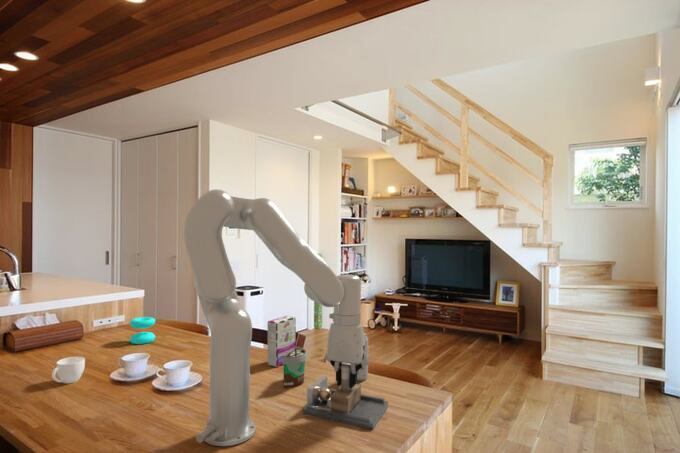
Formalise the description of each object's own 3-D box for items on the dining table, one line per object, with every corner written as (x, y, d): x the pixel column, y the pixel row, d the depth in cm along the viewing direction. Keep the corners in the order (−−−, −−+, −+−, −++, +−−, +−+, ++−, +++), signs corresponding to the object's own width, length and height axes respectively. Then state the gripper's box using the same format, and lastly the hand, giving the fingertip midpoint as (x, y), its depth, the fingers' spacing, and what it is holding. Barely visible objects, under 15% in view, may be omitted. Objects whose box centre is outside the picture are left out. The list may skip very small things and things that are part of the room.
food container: (301, 391, 125) (301, 359, 125) (282, 389, 126) (282, 357, 126) (311, 376, 137) (312, 347, 137) (294, 375, 138) (294, 346, 138)
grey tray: (373, 429, 101) (373, 403, 101) (302, 414, 109) (303, 390, 109) (388, 406, 114) (388, 384, 114) (324, 394, 122) (324, 373, 122)
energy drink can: (346, 379, 135) (347, 334, 135) (354, 373, 140) (355, 330, 140) (363, 382, 132) (363, 337, 132) (370, 376, 137) (371, 332, 137)
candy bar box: (286, 357, 157) (286, 315, 157) (296, 359, 154) (296, 316, 154) (266, 365, 147) (266, 320, 147) (276, 367, 145) (277, 322, 145)
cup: (90, 378, 133) (90, 358, 133) (61, 389, 124) (61, 368, 124) (73, 375, 135) (73, 355, 135) (43, 386, 126) (43, 365, 126)
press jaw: (347, 413, 106) (348, 372, 106) (330, 410, 108) (331, 369, 108) (360, 398, 115) (361, 360, 115) (344, 395, 117) (344, 358, 117)
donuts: (137, 316, 180) (159, 316, 180) (137, 338, 180) (159, 338, 180) (125, 321, 170) (148, 321, 170) (124, 344, 170) (148, 345, 170)
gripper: (314, 319, 111) (314, 385, 111) (370, 325, 105) (370, 395, 105) (325, 314, 118) (325, 376, 118) (379, 319, 112) (378, 385, 112)
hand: (346, 384), depth 112 cm, fingers closed on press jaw, 3 cm apart
